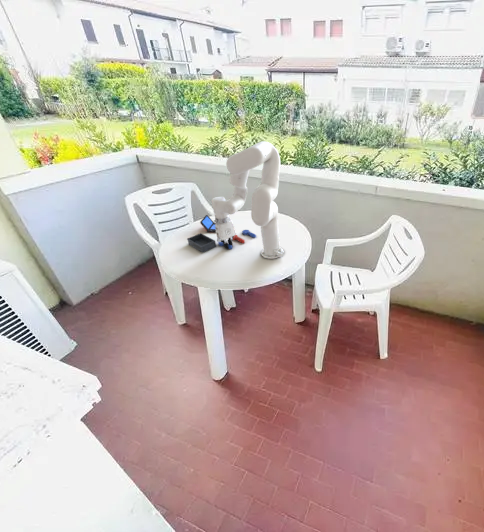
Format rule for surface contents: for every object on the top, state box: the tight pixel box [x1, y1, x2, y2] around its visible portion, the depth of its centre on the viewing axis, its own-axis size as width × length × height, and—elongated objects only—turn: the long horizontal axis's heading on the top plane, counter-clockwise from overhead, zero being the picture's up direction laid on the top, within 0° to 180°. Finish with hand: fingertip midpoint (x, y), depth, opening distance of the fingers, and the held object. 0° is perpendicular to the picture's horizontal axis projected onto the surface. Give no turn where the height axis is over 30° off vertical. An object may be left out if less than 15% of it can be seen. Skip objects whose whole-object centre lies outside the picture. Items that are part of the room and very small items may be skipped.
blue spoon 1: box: [217, 242, 233, 250], centre depth 169 cm, size 12×4×2 cm, turn 51°
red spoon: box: [232, 234, 246, 244], centre depth 175 cm, size 12×4×2 cm, turn 51°
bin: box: [186, 232, 217, 254], centre depth 169 cm, size 15×9×4 cm, turn 52°
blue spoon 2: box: [241, 229, 257, 238], centre depth 181 cm, size 12×4×2 cm, turn 52°
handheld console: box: [199, 214, 216, 233], centre depth 187 cm, size 12×11×7 cm
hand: (228, 247), depth 168 cm, fingers closed on blue spoon 1, 2 cm apart
